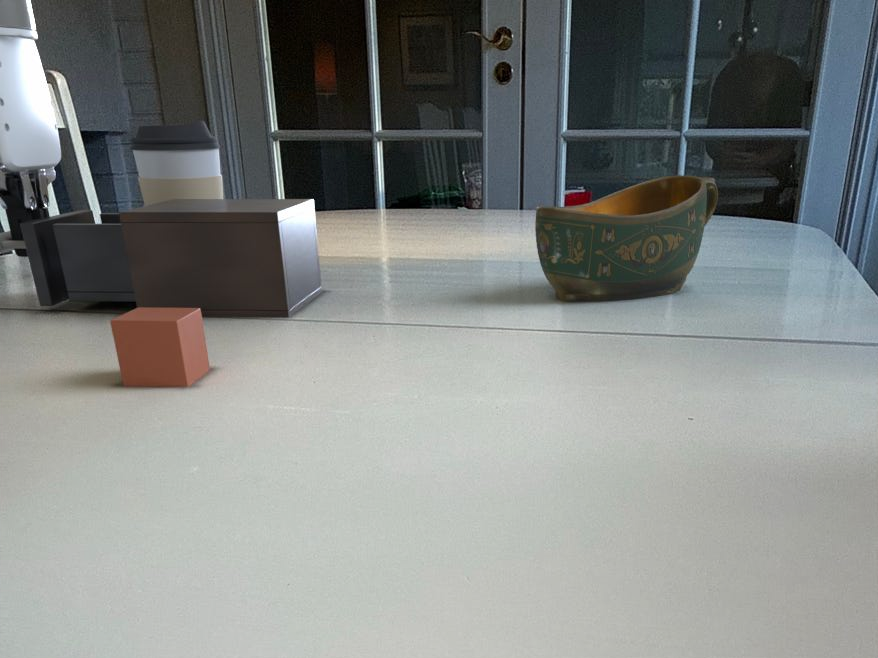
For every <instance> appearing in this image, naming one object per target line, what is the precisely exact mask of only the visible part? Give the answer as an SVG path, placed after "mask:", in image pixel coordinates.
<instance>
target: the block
mask: <svg viewBox="0 0 878 658" xmlns="http://www.w3.org/2000/svg"><path fill="white" fill-rule="evenodd" d="M109 322H110V328H111V333H112V336H113V341H114V346H115V352H116V357H117V361H118V366H119V371H120V377H121V380H122V385H123V387H168V388H169V387H171V388H173V387H174V388H175V387H176V388H183V387H184V388H188V387H190V386H191V385H193V384H194V383H195V382H196V381H198V380H199V379H200V378H202V377H204V376H205V375H206V374H207V373H209V372H210V371H211V365H210V360H209V353H208V347H207V341H206V334H205V327H204V322H203V317H202V314H201V309H200V308H144V307H138V308H137V307H136V308H134V309H132V310H129V311H127V312H125V313H123V314H120V315H118V316H117V317H115V318H112V319H110V320H109Z"/></svg>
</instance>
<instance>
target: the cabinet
mask: <svg viewBox="0 0 878 658" xmlns="http://www.w3.org/2000/svg"><path fill="white" fill-rule="evenodd" d="M118 213H119V216H120V221H121V226H122V232H123V237H124V242H125V247H126V252H127V258H128V263H129V268H130V273H131V279H132V284H133V289H134V294H135V299H136V302H135V304H136V308H138V307H144V308H200V309H201V314H202V318H203V317H205V318H206V317H208V318H210V317H212V318H213V317H214V318H225V317H226V318H290V317H292V316H293V315H295V313H297V312H298V311H300V310H301V309H302V308H303V307H305V306H306V305H307V304H308V303H310V302H312V301H313V300H314V299H316V298H317V297H318V296H319V295H321V294H322V293H323V286H322V277H321V276H322V275H321V266H320V252H319V243H318V233H317V221H316V209H315V200H314V198H223V199H173V200H169V201H165V202H160V203H156V204H152V205H147V206H145V205H143V206H140V207H135V208H130V209H125V210H121V211H119V212H118Z"/></svg>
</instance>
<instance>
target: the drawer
mask: <svg viewBox="0 0 878 658" xmlns="http://www.w3.org/2000/svg"><path fill="white" fill-rule="evenodd" d="M99 218H100V222H101V223H96V221H95V217H94V211H93V210H92V209H80V210H76V211H75V210H74V211H71V212H66V213H61V214H55V215H51V216H50V217H46V218H41V219H36V220H31V221H27V222H22V223H20V226H21V230H22V234H23V238H24V241H12V237H11V232H10V230H7V231H3V232H0V254H1V255H2V254H4V253H9V252H13V251H15V250H14V249H26V250H27V255H28V257H27V259H28V263H29V266H30V271H31V274H32V277H33V278H32V279H33V283H34V287H35V291H36V295H37V299H38V303H39V306H41V307H53V306H56V305H59V304H62V303H64V302H66V301H69V302H105V303H107V302H114V303H116V302H117V303H118V302H120V303H122V302H123V303H125V302H126V303H131V302H132V303H136V299H135V294H134V289H133V284H132V279H131V273H130V268H129V263H128V258H127V252H126V247H125V242H124V237H123V232H122V226H121V221H120V216H119V212H101V213H99Z"/></svg>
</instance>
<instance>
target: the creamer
mask: <svg viewBox="0 0 878 658" xmlns="http://www.w3.org/2000/svg"><path fill="white" fill-rule="evenodd" d="M715 182H716V179H715V178H713V177H707V176H701V177H699V176H696V175H680V174H678V175H667V176H663V177H662V176H661V177H658V178H657V177H656V178H652V179H649V180H646V181H641V182H639V183H637V184H634V185H632V186H628V187H626V188H623V189H621V190H618V191H616V192H613V193H610V194H607V195H605V196H603V197H600V198H599V199H596V200H593V201H590V202H587V203H583V204H576V205H566V206H555V205H554V206H549V205H546V206H545V205H537V206H536V208H535V227H534V231H535V242H536V249H537V255H538V260H539V263H540V267H541V269H542V272H543V274H544V276H545V278H546V280H547V281H548V283H549V284H550V285H551V287H552V289H554V291H555V298H556V299H557V300H560V301H565V302H566V301H567V302H573V303H574V302H575V303H577V302H578V303H598V302H599V303H600V302H601V303H603V302H617V301H618V302H619V301H620V302H621V301H632V300H642V299H650V298H656V297H657V298H658V297H663V296H669V295H674V294H675V293H678V292H680V291H681V290H682V287H683V286H684V285H685V283H686V281H687V277H688V275H689V274H690V273H691V271H692V270H693V268H694V265H695V263H696V260H697V258H698V255H699V253H700V248H701V244H702V241H703V236H704V231H705V227H706V226H707V224H708V222H709V221H710V220H711V219H712V217H713V214H714V212H715V210H716V207H717V204H718V201H719V200H718V198H719V191H718V187H717V184H716V183H715Z"/></svg>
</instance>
